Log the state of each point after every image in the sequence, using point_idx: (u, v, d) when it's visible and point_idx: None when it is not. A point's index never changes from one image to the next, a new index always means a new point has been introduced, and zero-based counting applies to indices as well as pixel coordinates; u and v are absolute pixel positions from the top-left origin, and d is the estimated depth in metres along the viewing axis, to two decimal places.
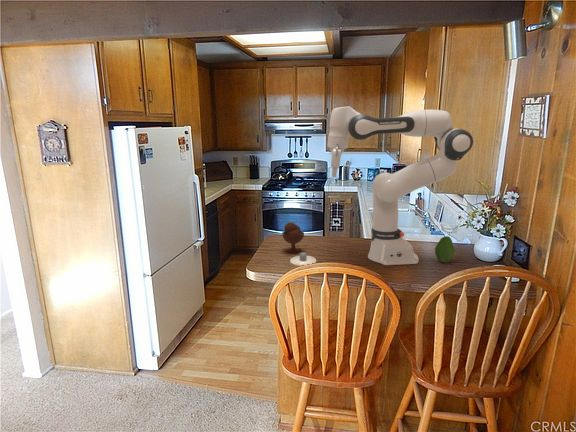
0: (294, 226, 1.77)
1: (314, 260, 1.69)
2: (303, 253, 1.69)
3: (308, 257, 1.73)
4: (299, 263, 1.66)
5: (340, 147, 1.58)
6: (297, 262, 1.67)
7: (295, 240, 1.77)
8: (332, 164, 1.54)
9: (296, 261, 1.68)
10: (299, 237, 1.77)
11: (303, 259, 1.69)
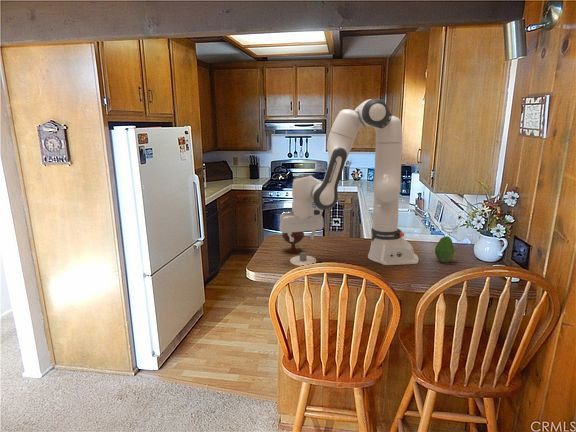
0: None
1: (314, 260, 1.69)
2: (303, 253, 1.69)
3: (308, 257, 1.73)
4: (299, 263, 1.66)
5: (294, 214, 1.62)
6: (297, 262, 1.67)
7: (295, 240, 1.77)
8: None
9: (296, 261, 1.68)
10: (299, 237, 1.77)
11: (303, 259, 1.69)
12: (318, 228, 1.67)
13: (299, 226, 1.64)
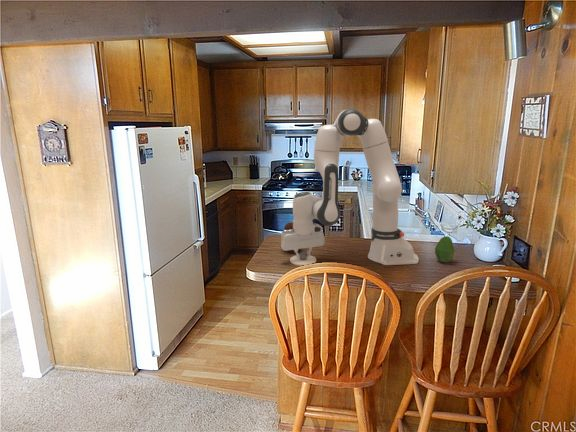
0: None
1: (314, 259, 1.69)
2: (303, 252, 1.69)
3: None
4: (299, 262, 1.66)
5: (295, 232, 1.64)
6: (297, 261, 1.67)
7: None
8: (281, 246, 1.67)
9: (296, 260, 1.68)
10: None
11: (303, 258, 1.68)
12: (319, 244, 1.69)
13: (300, 243, 1.66)
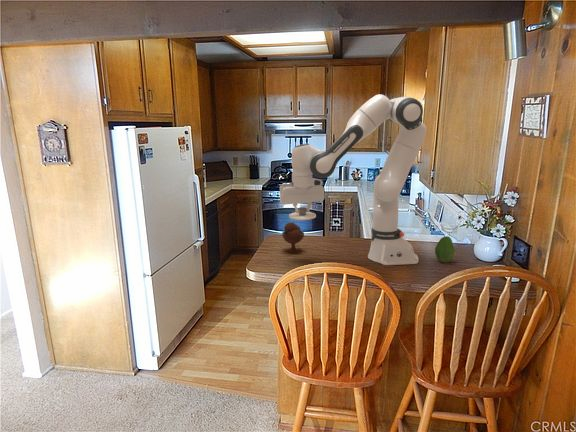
0: (294, 226, 1.77)
1: (314, 215, 1.64)
2: (302, 207, 1.64)
3: (308, 213, 1.68)
4: (298, 217, 1.61)
5: (294, 185, 1.59)
6: (296, 216, 1.62)
7: (295, 240, 1.77)
8: (280, 201, 1.61)
9: (296, 216, 1.63)
10: (299, 237, 1.77)
11: (302, 213, 1.63)
12: (319, 199, 1.64)
13: (299, 197, 1.61)
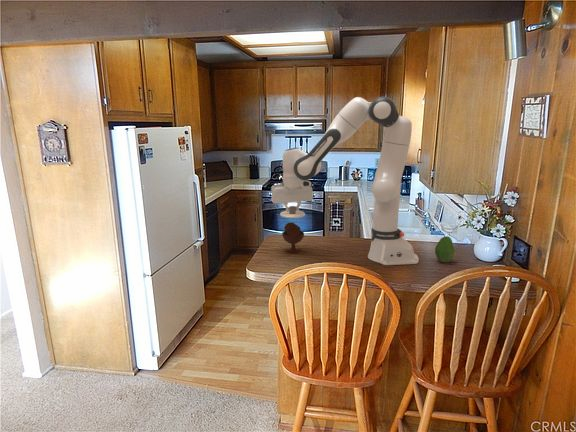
0: (294, 226, 1.77)
1: (303, 213, 1.77)
2: (292, 206, 1.77)
3: (297, 211, 1.81)
4: (288, 215, 1.74)
5: (284, 186, 1.72)
6: (286, 214, 1.75)
7: (295, 240, 1.77)
8: (271, 200, 1.75)
9: (286, 214, 1.76)
10: (299, 237, 1.77)
11: (292, 212, 1.77)
12: (308, 199, 1.77)
13: (289, 197, 1.74)
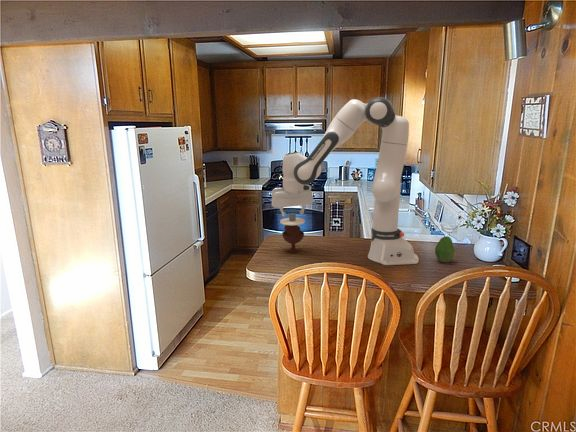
0: (294, 226, 1.77)
1: (303, 220, 1.78)
2: (292, 214, 1.78)
3: (297, 218, 1.82)
4: (288, 223, 1.75)
5: (284, 190, 1.73)
6: (286, 222, 1.76)
7: (295, 240, 1.77)
8: None
9: (286, 221, 1.77)
10: (299, 237, 1.77)
11: (292, 219, 1.77)
12: (308, 203, 1.78)
13: (290, 201, 1.75)
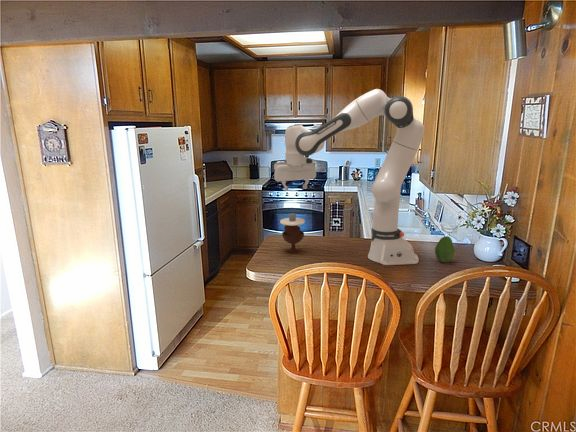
0: (294, 226, 1.77)
1: (303, 220, 1.78)
2: (292, 214, 1.78)
3: (297, 218, 1.82)
4: (288, 223, 1.75)
5: (287, 163, 1.71)
6: (286, 222, 1.76)
7: (295, 240, 1.77)
8: (274, 178, 1.73)
9: (286, 221, 1.77)
10: (299, 237, 1.77)
11: (292, 219, 1.77)
12: (311, 177, 1.76)
13: (292, 174, 1.73)
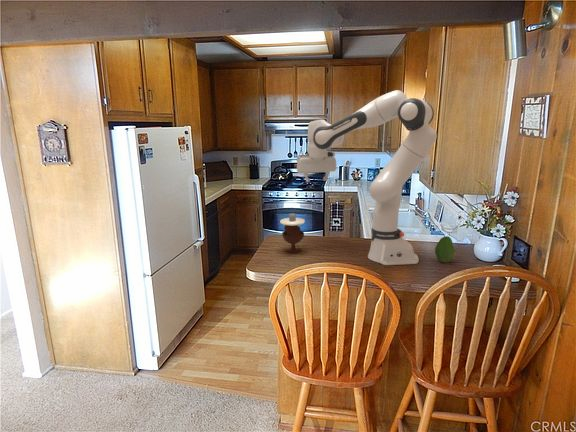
0: (294, 226, 1.77)
1: (303, 220, 1.78)
2: (292, 214, 1.78)
3: (297, 218, 1.82)
4: (288, 223, 1.75)
5: (309, 156, 1.79)
6: (286, 222, 1.76)
7: (295, 240, 1.77)
8: (297, 170, 1.82)
9: (286, 221, 1.77)
10: (299, 237, 1.77)
11: (292, 219, 1.77)
12: (331, 170, 1.84)
13: (314, 167, 1.81)
